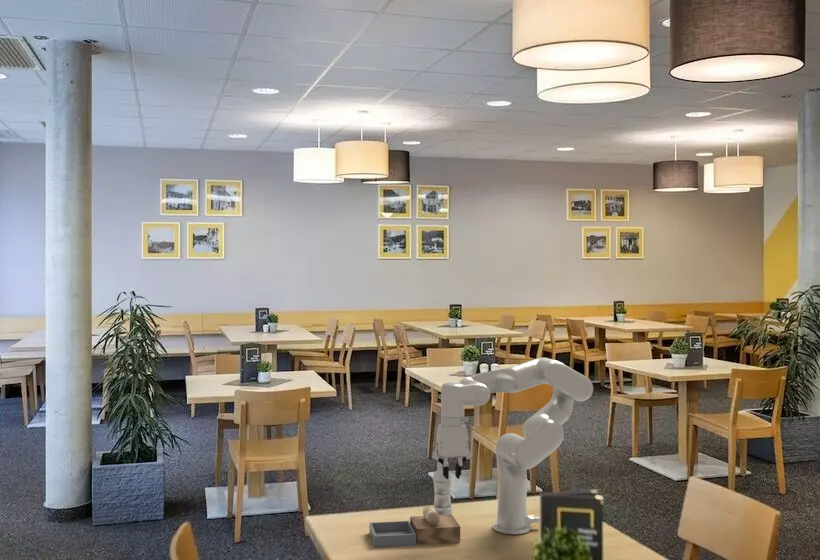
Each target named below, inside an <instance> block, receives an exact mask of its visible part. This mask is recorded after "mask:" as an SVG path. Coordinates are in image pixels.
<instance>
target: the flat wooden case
mask: <svg viewBox="0 0 820 560" xmlns="http://www.w3.org/2000/svg"><path fill="white" fill-rule="evenodd" d="M439 517H440V522H439V523H438V524H437V525H436V526H431V525H429V523H428V522H427V520H426V518H425V517H424V515H415V516H410V517H409V522H410V524H411V526H412V528H413V530H414V531H415V533H416V546H417V545H420V546H421V545H434V544H435V545H437V544H458V543H461V526H460V524H459V523H458V521H457V519H455V517H454V516H453V514H452V515H439Z"/></svg>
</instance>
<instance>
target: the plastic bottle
mask: <svg viewBox="0 0 820 560" xmlns="http://www.w3.org/2000/svg"><path fill="white" fill-rule="evenodd" d="M436 465H437V466H436V468H437V469H436V470H435V472H434V473H433V476H432V480H433V481H432V482H433V488H434V489H433V491H434V499H433V501H434V502H433V506H432V507H433V508H434V509H435V511H436V512H437V514H438V515H452V516H453V510H452V509H453V508H452V501H451V493H452V491H451V488H452V481H453V475H452V473H451V471H449V479H446V478H445V477H444V476H443V465H442V464H441V463H440V462H439V461H437V464H436ZM447 465H448V466H449V462H448V461H447Z"/></svg>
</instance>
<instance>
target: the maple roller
mask: <svg viewBox="0 0 820 560" xmlns="http://www.w3.org/2000/svg"><path fill="white" fill-rule="evenodd" d="M433 507H434V506H432V505H426V506H425V507H424V508H423V510H422V514H423V515H422V516H424V517H425V518H426V520H427V522H428V523H429V525H431V526H436V525H437V524H438V523H439V522H440V517H439V515H438V514H437V512H436V511H435V509H434V508H433Z"/></svg>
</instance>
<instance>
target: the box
mask: <svg viewBox="0 0 820 560" xmlns="http://www.w3.org/2000/svg"><path fill="white" fill-rule="evenodd" d="M369 536H370V538H371V541H373V542H372V545H373V547H374V548H375V549H376V548H391V547H392V548H393V547H394V548H395V547H410V546H417V544H416V533H415V531H414V530H413V528H412V526H411V524H410V520H400V521H399V520H398V521H396V520H395V521H393V520H392V521H379V522H378V521H377V522H369Z"/></svg>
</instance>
